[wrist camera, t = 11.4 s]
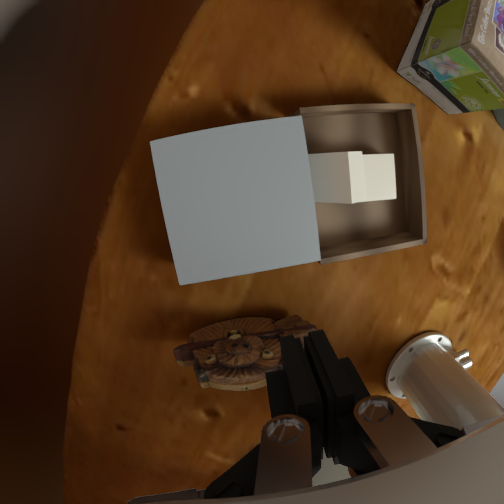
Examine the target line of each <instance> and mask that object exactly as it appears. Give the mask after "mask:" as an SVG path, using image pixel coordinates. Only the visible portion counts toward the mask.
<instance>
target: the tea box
mask: <svg viewBox="0 0 504 504" xmlns="http://www.w3.org/2000/svg"><path fill="white" fill-rule="evenodd" d="M397 73H399V74H400V75H401V76H403V77H404V78H405V79H407V80H408V81H409V82H411V83H412V84H413V85H414V86H416V87H417V88H418V89H419V90H420V91H422V92H423V93H424V94H425V95H426V96H428V97H429V98H430V99H431V100H432V101H434V102H435V103H436V104H437V105H438V106H439V107H440V108H442V109H443V110H444V111H445V112H446V113H447V114H457V113H466V112H467V113H468V112H474V111H483V110H494V109H504V0H430V1H429V2H428V3H426V4H425V7H424V9H423V11H422V14H421V16H420V19H419V21H418V23H417V26H416V28H415V30H414V33H413V35H412V37H411V40H410V42H409V44H408V46H407V49H406V51H405V53H404V55H403V58H402V60H401V62H400V64H399V67H398V69H397Z"/></svg>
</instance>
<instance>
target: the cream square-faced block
mask: <svg viewBox="0 0 504 504" xmlns="http://www.w3.org/2000/svg"><path fill="white" fill-rule="evenodd" d="M362 156H363V168H364V182H365V198H366V199H365V200H362V201H359V202H367V201H377V200H389V199H396V178H395V163H394V154H364V155H362Z"/></svg>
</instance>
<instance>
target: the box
mask: <svg viewBox="0 0 504 504" xmlns="http://www.w3.org/2000/svg"><path fill="white" fill-rule="evenodd" d="M293 116H302V120H303V126H304V132H305V139H306V145H307V151H308V154H319V153H333V152H352V151H362V155H364V154H394V163H395V178H396V199H389V200H377V201H367V202H356V203H353V204H346V203H324V202H315V210H316V218H317V227H318V236H319V245H320V255H321V261H318V262H319V263H320V265H322V264H327V263H332V262H337V261H342V260H348V259H353V258H358V257H363V256H368V255H373V254H378V253H383V252H388V251H393V250H397V249H402V248H407V247H412V246H417V245H421V244H426V243H427V220H426V196H425V181H424V169H423V159H422V150H421V142H420V134H419V127H418V120H417V114H416V108H415V104H398V103H381V104H346V105H328V106H314V107H302V108H298V109H297V110H296V111H294V112H293V113H292V114H291V117H293Z"/></svg>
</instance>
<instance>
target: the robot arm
mask: <svg viewBox="0 0 504 504" xmlns="http://www.w3.org/2000/svg"><path fill="white" fill-rule="evenodd" d="M279 339H280V348H281V356H282V365H283V370H277V371H271V372H265V376H266V383H267V390H268V397H269V404H270V410H271V417H272V419H270V420H269V421H267V422H266V423H265V425H264V426H263V428H262V431H261V440H260V444H258V445H257V446H256V447H255V448H254V449H253V450H252V451H250V452H249V453H248V454H247V455H246V456H244V457H243V458H242V459H241V460H240V461H238V462H237V463H236V464H235V465H234V466H232V467H231V468H230V469H229V470H227V471H226V472H225V473H224V474H222V475H221V476H220V477H218V478H217V479H216V480H215V481H213V482H212V483H211V484H210V485H209V486H208V487H207V488H206V489H203V490H198V491H197V490H196V488H194V489H188V490H183V491H177V492H171V493H164V494H157V495H149V496H141V497H137V498H133V499H132V500H130V501H128V502H127V504H504V408H503V407H502V406H501V405H500V404H499V403H498V402H497V401H496V400H495V399H494V398H493V397H492V396H491V395H490V393H489V392H488V391H487V390H486V389H485V388H484V387H483V386H482V385H481V384H480V383H479V382H478V381H477V380H476V379H475V378H474V377H473V376H472V375H471V374H470V373H469V372H468V371H467V370H466V369H468V368H470V367H471V366H472V361H471V359H470V358H469V357H467V356H468V355H469V351H468V350H467V349H464V350H462V351H460V352H458V353H457V352H455V351H454V350H453V349H452V344H451V342H450V340H449V339H448V338H447V337H446V336H445V335H444V334H442V333H440V332H427V333H424V334H421V335H419V336H417V337H415V338H413V339H412V340H410V341H409V342H408V343H407V344H405V345H404V346H403V347H402V348H401V349H400V350H399V351H398V353H397V354H396V355H395V357H394V358H393V359H392V361H391V363H390V365H389V367H388V370H387V373H386V385H387V388H388V389H389V391H390V393H391V394H392V395H393V396H395V397H397V398H401V399H407V400H408V401H409V403H410V404H411V405H412V407H413V408H414V410H415V411H416V413H417V414H418V416H419V417H420V419H421V420H420V419H416V418H411V417H409V416H408V415H407V414H406V413H405V412H404V411H403V410H402V409H401V407H400V406H399V405H398V404H397V403H396V402H395V401H394V400H392V399H391V398H388V397H386V396H380V395H375V396H370V394H369V392H368V390H367V388H366V387H365V385H364V383H363V381H362V379H361V378H360V376H359V374H358V372H357V371H356V369H355V367H354V365H353V364H352V362H351V360H350V359H349V358H348V357H346V358H342V359H338V358H337V356H336V354H335V352H334V350H333V348H332V346H331V344H330V343H329V341H328V339H327V337H326V335H325V333H324V331H323V330H317V331H311V332H308V336H304V338H303V339H304V348H303V345H302V342H301V339H300V337H298V338H295V337H294V335H288V336H282V337H279ZM465 357H467V358H465ZM463 358H465V359H463ZM460 359H462V360H460ZM323 447H324V450H325V453H326V457H327V458H330V457H332V458H333V461H334V464H342V465H344V466H347V467H348V471H349V474H350V476H351V477H352V478H348V479H344V480H341V481H336V482H332V483H328V484H323V485H318V486H314V487H312V478H313V476H314V475H315V474H316V473H317V472H318V471H319V470H320V468H321V459H323Z"/></svg>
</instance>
